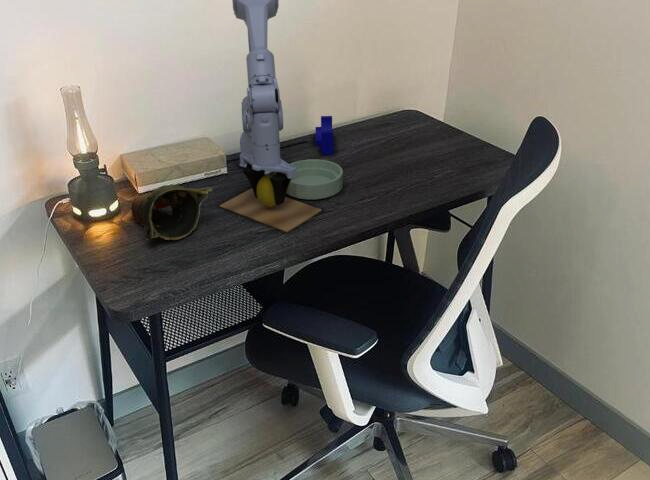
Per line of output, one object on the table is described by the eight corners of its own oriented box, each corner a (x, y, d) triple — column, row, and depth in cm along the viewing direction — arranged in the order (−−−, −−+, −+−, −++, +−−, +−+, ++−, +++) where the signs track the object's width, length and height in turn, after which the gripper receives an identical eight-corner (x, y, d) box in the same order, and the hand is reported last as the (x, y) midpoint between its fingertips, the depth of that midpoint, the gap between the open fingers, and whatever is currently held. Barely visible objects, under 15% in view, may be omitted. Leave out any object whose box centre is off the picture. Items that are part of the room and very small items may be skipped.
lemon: (279, 214, 146) (277, 180, 142) (255, 212, 147) (252, 179, 143) (284, 202, 151) (283, 169, 146) (261, 201, 152) (258, 168, 147)
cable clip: (315, 137, 183) (315, 116, 180) (332, 137, 183) (332, 115, 180) (315, 154, 173) (315, 132, 170) (333, 154, 173) (333, 132, 170)
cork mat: (219, 206, 151) (219, 205, 151) (255, 187, 158) (255, 186, 158) (287, 232, 140) (287, 231, 140) (322, 210, 148) (322, 209, 147)
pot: (160, 163, 149) (198, 163, 135) (188, 204, 155) (228, 207, 141) (101, 211, 143) (136, 216, 129) (133, 252, 148) (169, 260, 134)
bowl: (269, 190, 157) (269, 174, 155) (307, 169, 166) (307, 154, 164) (317, 206, 149) (317, 190, 147) (354, 184, 158) (354, 168, 156)
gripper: (227, 139, 142) (233, 197, 149) (279, 155, 134) (282, 215, 141) (250, 129, 146) (254, 186, 154) (302, 144, 138) (303, 203, 146)
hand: (269, 199), depth 148 cm, fingers closed on lemon, 5 cm apart
